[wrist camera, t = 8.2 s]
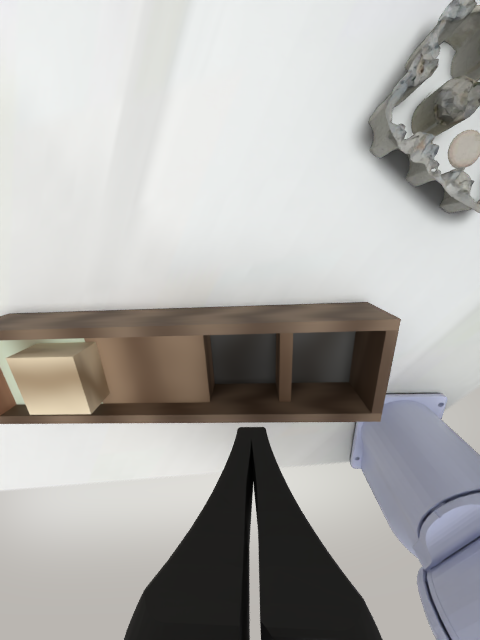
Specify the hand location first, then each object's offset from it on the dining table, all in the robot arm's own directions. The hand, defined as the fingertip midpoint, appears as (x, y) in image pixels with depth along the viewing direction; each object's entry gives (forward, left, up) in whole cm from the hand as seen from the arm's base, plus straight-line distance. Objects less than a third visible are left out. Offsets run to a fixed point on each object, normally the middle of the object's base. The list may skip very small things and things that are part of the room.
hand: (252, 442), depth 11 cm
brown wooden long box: (0, +6, -10) cm, 12 cm away
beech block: (0, +15, -7) cm, 17 cm away
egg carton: (+16, -14, -11) cm, 24 cm away
